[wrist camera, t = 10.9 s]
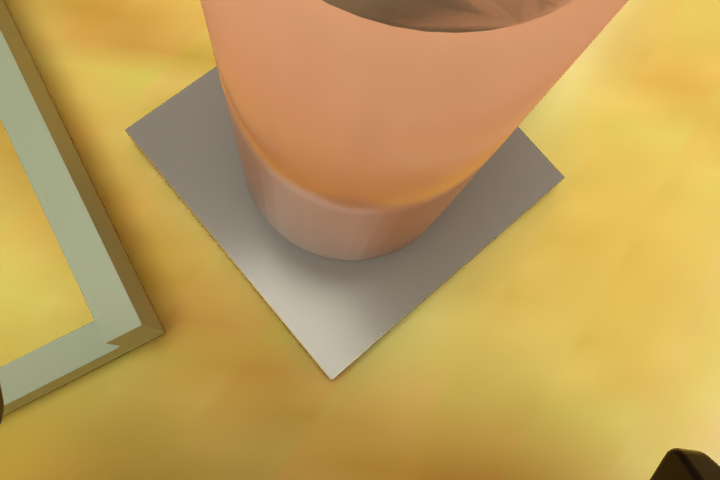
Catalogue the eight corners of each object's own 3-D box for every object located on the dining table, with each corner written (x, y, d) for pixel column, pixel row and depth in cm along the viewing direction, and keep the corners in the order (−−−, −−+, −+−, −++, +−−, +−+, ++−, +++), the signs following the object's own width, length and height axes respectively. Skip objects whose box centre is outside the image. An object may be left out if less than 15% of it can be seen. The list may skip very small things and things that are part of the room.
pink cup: (466, 253, 20) (730, 56, 8) (247, 267, 19) (163, 71, 7) (442, 56, 21) (636, -370, 9) (238, 61, 20) (154, -398, 8)
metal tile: (552, 186, 22) (564, 177, 21) (329, 380, 19) (331, 380, 19) (364, -21, 23) (367, -39, 22) (133, 141, 21) (125, 129, 20)
